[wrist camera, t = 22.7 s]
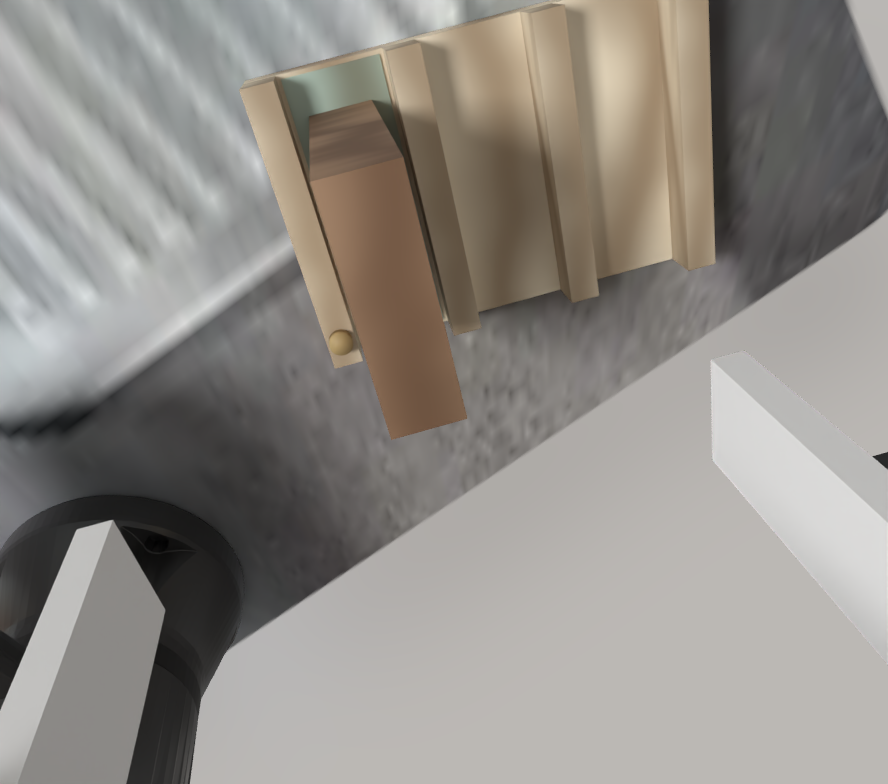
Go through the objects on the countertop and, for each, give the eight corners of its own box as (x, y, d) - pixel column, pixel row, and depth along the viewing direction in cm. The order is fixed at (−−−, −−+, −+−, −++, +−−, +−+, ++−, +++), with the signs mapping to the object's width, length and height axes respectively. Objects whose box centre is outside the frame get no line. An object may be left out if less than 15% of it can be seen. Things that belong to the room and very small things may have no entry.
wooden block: (366, 308, 39) (390, 440, 27) (307, 116, 34) (308, 182, 22) (422, 293, 39) (468, 418, 28) (372, 99, 34) (404, 156, 22)
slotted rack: (333, 340, 41) (335, 373, 37) (245, 80, 34) (238, 91, 30) (685, 243, 42) (720, 267, 38) (672, -32, 34) (714, -34, 31)
